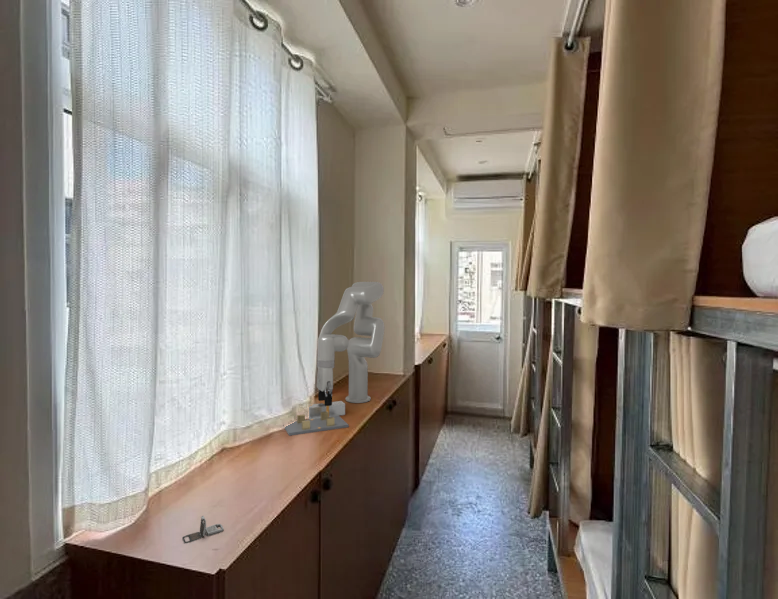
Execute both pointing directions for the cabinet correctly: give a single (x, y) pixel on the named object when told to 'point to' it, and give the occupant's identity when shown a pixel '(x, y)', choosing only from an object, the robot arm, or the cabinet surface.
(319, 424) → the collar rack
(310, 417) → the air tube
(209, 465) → the cabinet surface
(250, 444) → the cabinet surface
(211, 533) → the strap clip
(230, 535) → the cabinet surface
